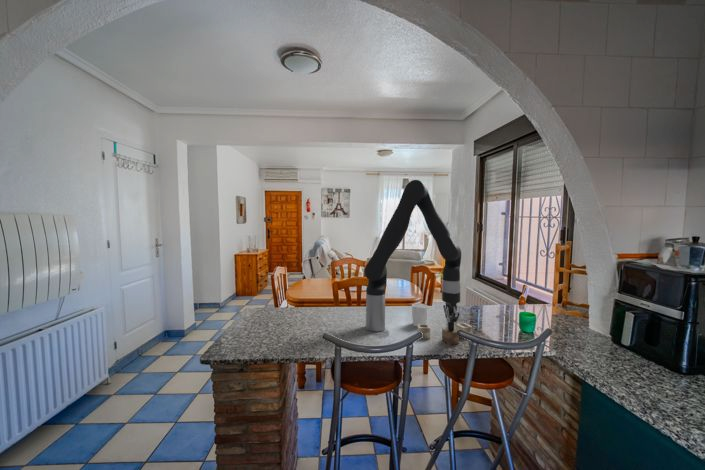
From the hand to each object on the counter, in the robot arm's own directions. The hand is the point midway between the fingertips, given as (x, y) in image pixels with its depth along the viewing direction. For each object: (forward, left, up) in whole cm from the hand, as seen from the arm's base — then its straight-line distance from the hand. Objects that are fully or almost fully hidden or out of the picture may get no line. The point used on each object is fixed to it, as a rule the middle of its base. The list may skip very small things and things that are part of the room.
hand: (450, 330), depth 121 cm
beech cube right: (+9, +7, -5) cm, 12 cm away
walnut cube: (0, 0, -5) cm, 5 cm away
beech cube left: (-10, +6, -5) cm, 13 cm away
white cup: (-8, +21, -5) cm, 23 cm away
